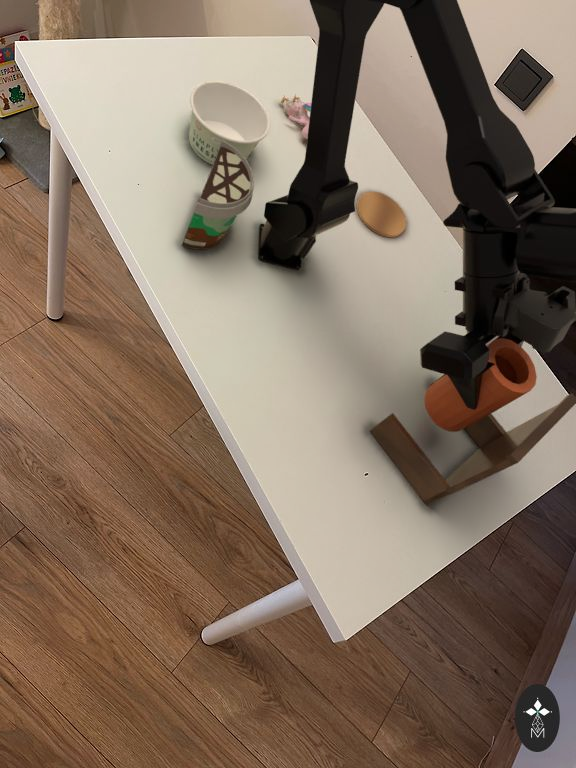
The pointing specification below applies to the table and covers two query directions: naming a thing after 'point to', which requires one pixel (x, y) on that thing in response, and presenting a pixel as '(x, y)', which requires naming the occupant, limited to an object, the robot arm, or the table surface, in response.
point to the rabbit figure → (298, 112)
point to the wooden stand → (486, 461)
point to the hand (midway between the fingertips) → (487, 394)
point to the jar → (483, 388)
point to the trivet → (381, 214)
